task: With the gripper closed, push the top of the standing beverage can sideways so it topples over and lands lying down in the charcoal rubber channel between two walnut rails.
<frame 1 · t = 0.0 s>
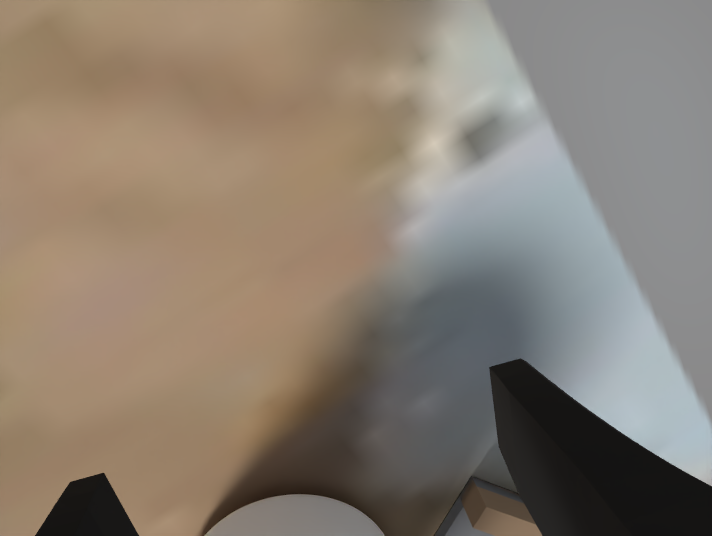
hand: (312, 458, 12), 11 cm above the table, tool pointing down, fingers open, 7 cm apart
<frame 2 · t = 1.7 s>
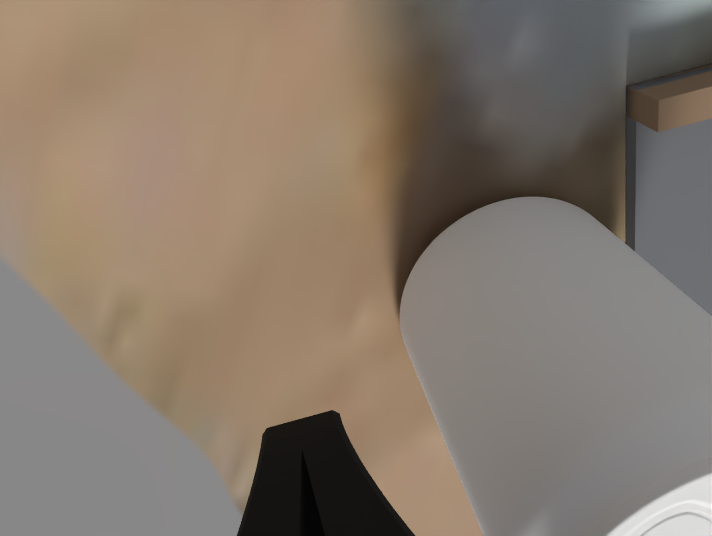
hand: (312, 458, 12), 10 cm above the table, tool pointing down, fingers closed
beverage can: (501, 290, 24), on the table
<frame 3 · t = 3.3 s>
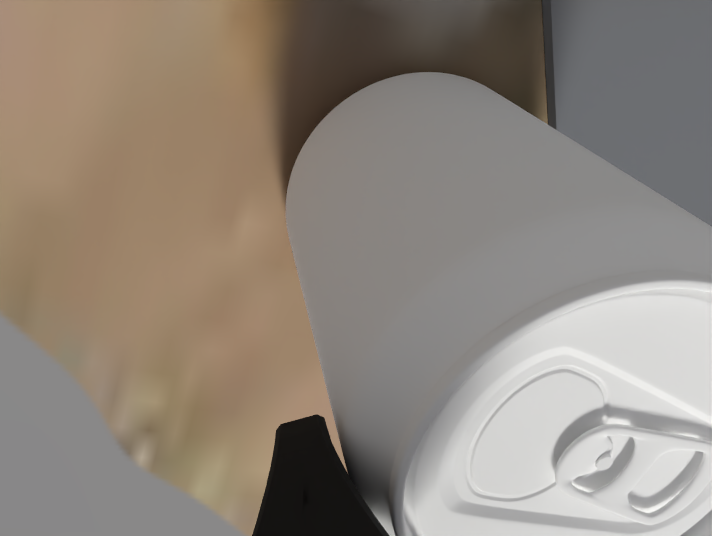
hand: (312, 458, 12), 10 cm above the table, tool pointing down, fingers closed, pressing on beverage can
beverage can: (408, 194, 21), on the table, touching gripper
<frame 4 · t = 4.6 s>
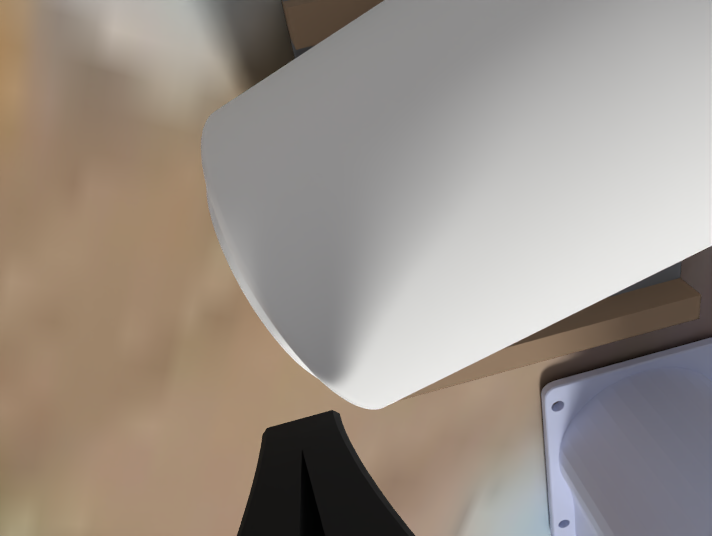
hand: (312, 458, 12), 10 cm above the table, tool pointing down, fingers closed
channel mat: (507, 170, 21), on the table
beverage can: (279, 273, 16), point 4 cm above the table, touching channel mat
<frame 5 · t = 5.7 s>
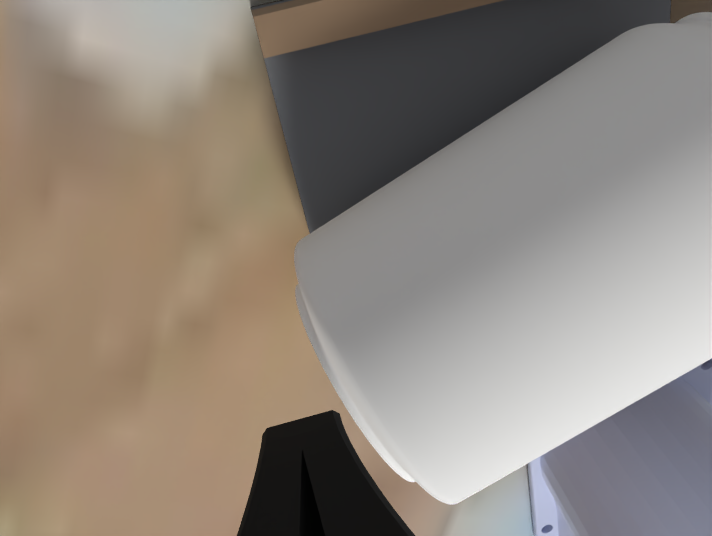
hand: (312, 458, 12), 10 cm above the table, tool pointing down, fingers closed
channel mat: (483, 177, 21), on the table
beverage can: (352, 381, 18), point 5 cm above the table, touching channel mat
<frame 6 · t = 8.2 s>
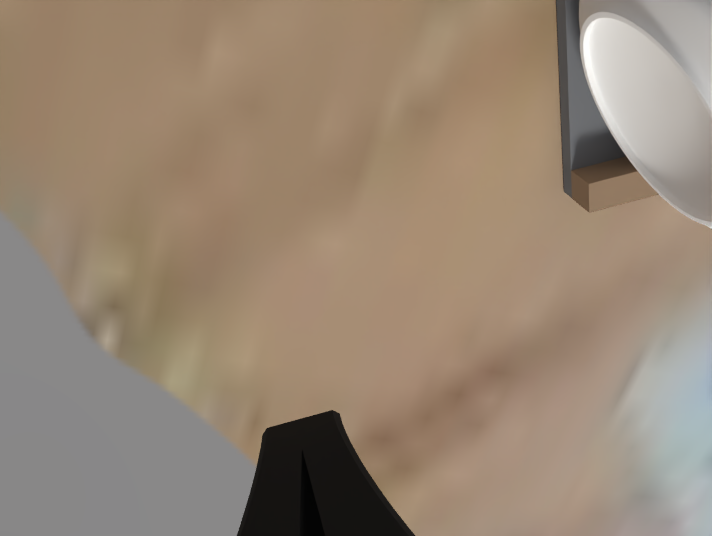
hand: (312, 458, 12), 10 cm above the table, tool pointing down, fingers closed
beverage can: (644, 127, 17), point 5 cm above the table, touching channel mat
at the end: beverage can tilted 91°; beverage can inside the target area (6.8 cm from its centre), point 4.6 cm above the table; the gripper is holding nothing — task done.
